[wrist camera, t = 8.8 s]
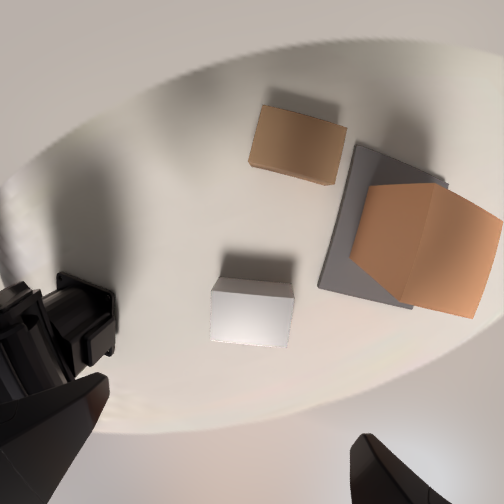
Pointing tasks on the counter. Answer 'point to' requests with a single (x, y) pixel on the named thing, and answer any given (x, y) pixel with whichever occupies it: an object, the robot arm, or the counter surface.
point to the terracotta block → (427, 246)
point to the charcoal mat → (358, 181)
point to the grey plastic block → (251, 312)
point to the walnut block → (297, 145)
